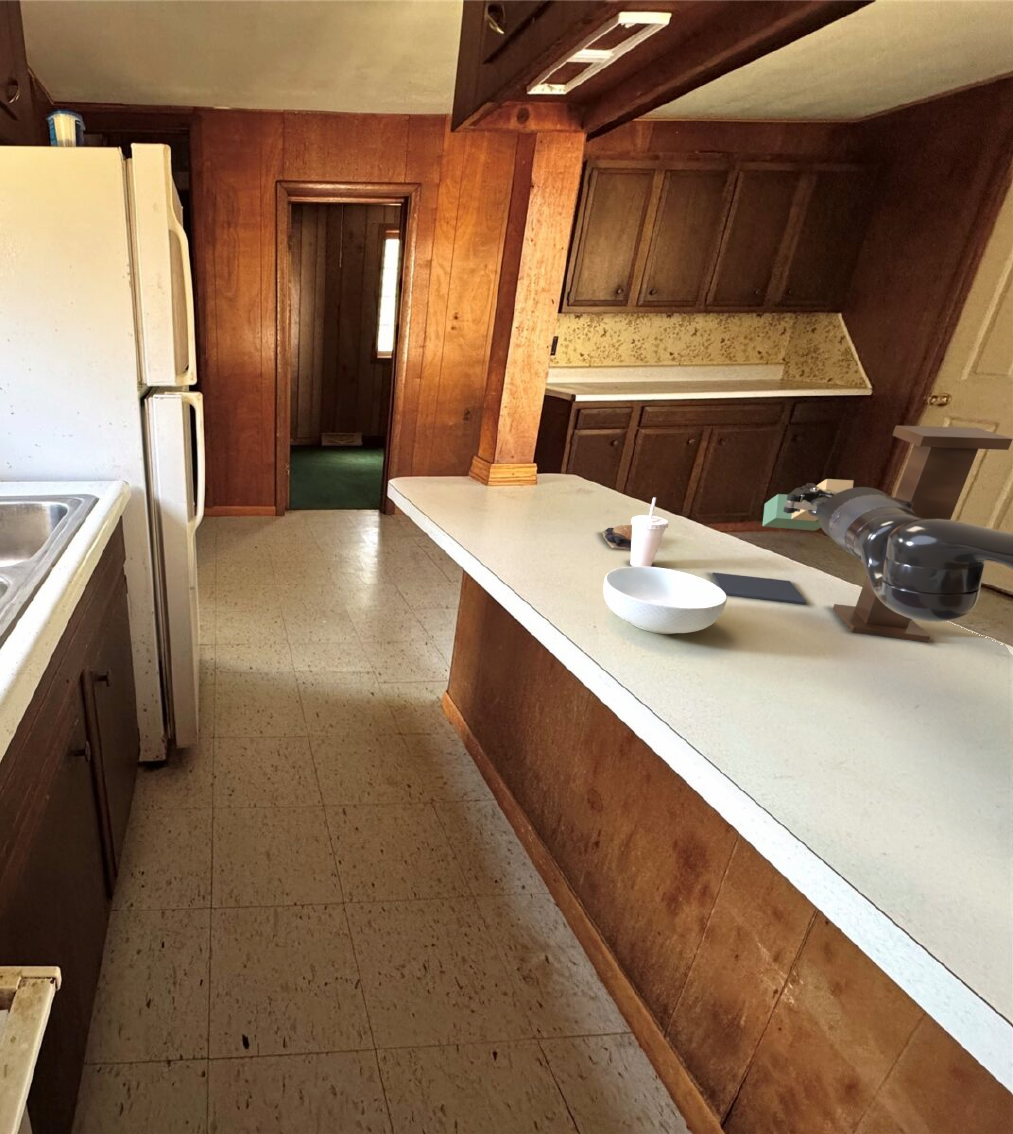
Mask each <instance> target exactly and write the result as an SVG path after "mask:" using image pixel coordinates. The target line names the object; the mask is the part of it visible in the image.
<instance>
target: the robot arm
mask: <svg viewBox="0 0 1013 1134" xmlns="http://www.w3.org/2000/svg"><path fill="white" fill-rule="evenodd" d="M787 495H788V496H787V500H786V503H785V507H784V510H783V512H786V513H794V512H795V511H796V512H800V510H801V509H803V510H808V513H809V514H810V515H812V516H815V517H818V521H819V524H820V526H821V530H822V531H823V532H824V533H825V534H826V535H827V536H828V537H829V538H830V539H831V540H833V542H835V543H836V544H837V545H838V546H839V547H840V548H841V549H842V550H843V551H845V552H847V553H848V554H849V555H852V556H854V557H855V558H856V559H857V560H858V561H860V562H861V563H862V564H863V567H864V570H865V571H864V572H865V575H866V576H868V579H869V581H870V584H871V586H872V588H873V590H874V592H875V594H876V596H877V597H878V599H879V600H880V601H881V602H882V603H883V604H884V605H885V606H886V607H888V608H889V609H891V610H892V611H894V612H896V613H898V614H900V615H902V616H905V617H907V618H911V619H912V620H913V621H919V622H925V623H942V622H950V621H954V620H956V619H959V618H961V617H964V616H966V615H967V614H969V613H971V611H973V609H974V608H975V607H976V605H977V603H978V602H979V601H978V600H979V597H980V593H981V586H982V581H983V576H984V572H985V568H986V563H987V562H989V563H990V562H991V563H996V564H1000V565H1002V566H1005V567H1007V568H1009V569H1011V570H1013V532H1007V531H1002V530H998V529H994V528H989V527H984V526H982V525H977V524H973V523H968V522H964V521H959V520H953V519H951V520H948V519H940V518H926V519H923V518H921V517H919V516H918V515H916V514H915V513H914V512H913V511H912V506H913V503H911V502H909V501H904V500H901V499H897V498H895V496H894V497H893V496H891V495H889V494H887V493H885V491H882V490H881V489H877V488H874V487H868V486H867V487H866V486H857V487H853V488H850V489H846V490H844V491H841V492H839V493H837V492H835V491H833V490H830V489H820V488H819V487H817V485H816V484H815V483H813V482H807V483H806V484H805V485H802V486H801V487H796V488H794V489H793V490H792V491H791V492H789V493H788V494H787Z"/></svg>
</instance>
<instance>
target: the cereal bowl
mask: <svg viewBox="0 0 1013 1134" xmlns="http://www.w3.org/2000/svg"><path fill="white" fill-rule="evenodd" d="M602 587H603V588H602V589H603V590H602V592H603V599H604V601H605V603H606V606H608V608H609V609H610V610H611V611H612V613H614V615H616V616H618V617H619V618H620V619H622V620H623V621H626V622H628V623H630V624H631V625H632V626H633V627H636V628H638V629H640V630H642V631H646V632H649V633H653V634H658V635H659V634H660V635H674V634H687V633H688V634H689V633H694V632H698V631H702V630H704V629H706V628H709V627H711V626H712V625H713V624H714V623H715V622H717V620H718V619H719V618H720V616H721V615H722V614H723V612H724V610H725V606H726V605H727V604H726V603H727V600H728V595H726V594H725V592H724V591H723V590H722V589H721V588H719V587H718V585H717V584H716V583H713V582H711V581H709V580H707V579H705V578H703V577H699V576H696V575H694V574H691V573H688V572H684V571H680V570H675V569H672V568H665V567H664V568H663V567H658V566H651V567H648V566H632V565H631V566H623V567H618V568H614V569H612V570H610V571H609V572H607V573H606V574H605V576H604V579H603V586H602Z"/></svg>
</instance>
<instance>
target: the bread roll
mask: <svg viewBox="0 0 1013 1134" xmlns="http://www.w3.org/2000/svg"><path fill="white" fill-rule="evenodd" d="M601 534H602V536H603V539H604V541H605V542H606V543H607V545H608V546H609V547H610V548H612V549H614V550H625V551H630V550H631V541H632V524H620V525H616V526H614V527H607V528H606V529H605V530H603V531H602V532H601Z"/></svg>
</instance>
